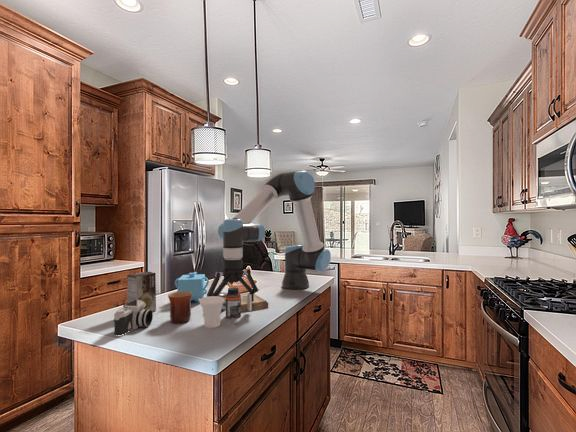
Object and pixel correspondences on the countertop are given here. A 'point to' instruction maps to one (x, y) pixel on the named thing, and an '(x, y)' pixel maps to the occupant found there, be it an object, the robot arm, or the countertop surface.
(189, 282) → the teapot
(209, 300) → the cup
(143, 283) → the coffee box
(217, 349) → the countertop surface
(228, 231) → the robot arm
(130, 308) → the camera
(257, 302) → the stand
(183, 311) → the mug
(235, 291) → the supplement bottle
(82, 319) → the countertop surface
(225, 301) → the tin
